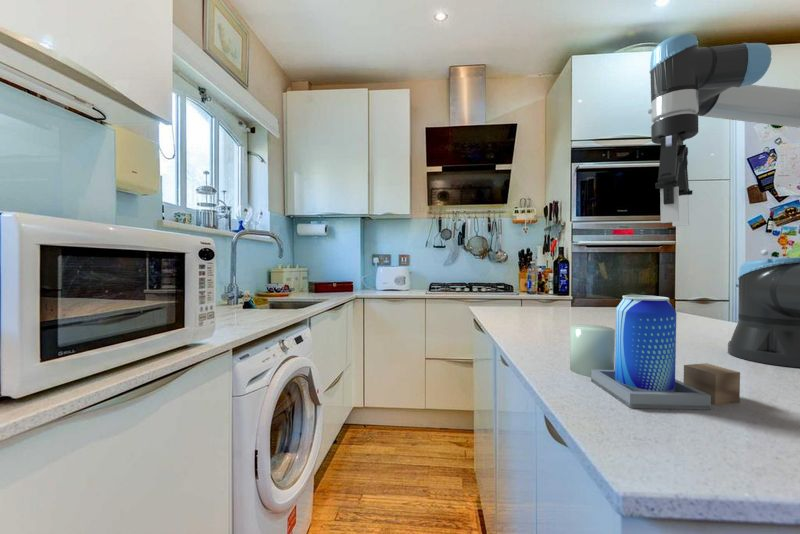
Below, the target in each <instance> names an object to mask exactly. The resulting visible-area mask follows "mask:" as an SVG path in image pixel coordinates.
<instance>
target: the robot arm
mask: <svg viewBox="0 0 800 534" xmlns="http://www.w3.org/2000/svg"><path fill="white" fill-rule="evenodd" d="M772 59H773V58H772V50H771V48H770V46H769V45H768V44H767V43H763V42H749V43H748V42H742V43H734V44H726V45H716V46H708V47H707V46H702V47H699V42H698V38H697V35H695V34H691V33H682V34H678V35H674V36H671V37H668V38H666V39H664V40H663V41H662V42H660V43H658V44H657V45H656V46H655V47H654V48H653V50H652V51H651V55H650V62H649V63H650V65H649V66H650V67H649V74H650V75H649V76H650V77H649V78H650V103H651V105H650V106H651V108H649V109H648V110H647V114H648V115H651V117H650V118H651V122H652V125H651V127H650V128H651V130H650V131H651V132H650V133H651V143H653V144H656V145H660V151H659V153H660V156H659V164H658V176H657V177H658V178H657V182H655V183H654V187H655V189H659V193H660V195H659V197H660V205H659V206H660V207H659V208H660V210H659V211H660V223H661V224H664V223H672V224H671V225H672V227H682V226H684V227H685V226H689V225H690V223H689V196H691V195H693V190H690V188H689V187H690V185H689V184H690V183H689V173H688V172H689V171H688V166H689V162H688V154H689V148H688V146H687V144H686V143H685V144H684V142H685V141H686V140H689V139H692V138H694V137H695V136H697V135H698V133H699V117H704V118H705V117H706V118H714V119H722V120H723V119H724V120H731V121H739V122H746V123H747V122H748V123H756V124H762V125H763V124H764V125H773V126H781V127H791V128H796V129H797V128H799V129H800V89H798V88H797V89H796V88H790V87H789V88H786V87H777V86H769V85H767V86H766V85H759V84H758V85H756V83H757V82H759V81H760V80H761V79H762V78H764V76H765V74H766V73H767V71H768V70H769V68H770V65H771V63H772ZM737 280H738V311H737V313H738V314H737V315H738V316H737V317H738V318H737V324H736V327H735V329H734V330H733V333H732V336H731V339H730V340H729V341H728V343H727V353H728V354H729V355H731V356H733V357H736V358H740V359H744V360H748V361H751V362H756V363H761V364H768V365H773V366H775V365H776V366H783V367H789V368H790V367H792V368H800V256H799V257H797V256H796V257H775V258H761V259H753V260H748V261H746V262H743V263H742V264H740V267H739V273H738V277H737Z"/></svg>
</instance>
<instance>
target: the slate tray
mask: <svg viewBox="0 0 800 534" xmlns="http://www.w3.org/2000/svg"><path fill="white" fill-rule="evenodd" d="M590 378H591V379H590V381H591V383H593V384H595V385H596V386H597V387H599V388H601V389H602V390H603V391H605V392H606V393H608V394H609V395H611V396H612V397H614V398H615V399H616V400H618V401H619V402H621V403H622V404H624V405H626V407H628V408H629V409H663V410H664V409H667V410H703V411H704V410H709V411H710V410H711V409H712V404H711V395H709V394H707V393H705V392H702V391H700V390H698V389H696V388H694V387H691V386H689V385H687V384H685V383H684V381H683V382H682V381H680V380H678V379H676V378H675V389H674V390H673V391H672V392H633V391H631V390H630V389H628V388H626V387H625V386H623V385H621V384H620V383H618V382H617V381H616V379H615V369H614V370H593V369H591V377H590Z"/></svg>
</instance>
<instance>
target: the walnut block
mask: <svg viewBox="0 0 800 534" xmlns="http://www.w3.org/2000/svg"><path fill="white" fill-rule="evenodd" d="M683 383H685V384H687V385H689V386H691V387H694V388H696V389H698V390H700V391H702V392H705V393H707V394H709V395H711V405H714V406H720V405H729V404H730V405H731V404H739V403H740V399H741V398H740V396H741V395H740V393H741V392H740V389H741V372H740V371H737V370H733V369H730V368H729V369H728V368H727V367H722V366H718V365H715V364H712V363H708V362H705V363H692V364H683Z"/></svg>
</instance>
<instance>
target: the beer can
mask: <svg viewBox="0 0 800 534" xmlns="http://www.w3.org/2000/svg"><path fill="white" fill-rule="evenodd" d="M670 299H671V298H670V297H667V296H660V295H658V296H657V295H649V294H648V295H643V294H625V295H622V299H621V300H620V302H619V304H618V305H617V306H616V309H615V364H614V370H615V379H616V381H617V382H618V383H620V384H621V385H623V386H625V387H626V388H628V389H630V390H631V391H633V392H672V391H673V390H674V389H675V379H676V358H677V357H676V355H677V354H676V353H677V352H676V349H677V311H676V310H675V308H674V307H673V306H672V304H671V302H670Z"/></svg>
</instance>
